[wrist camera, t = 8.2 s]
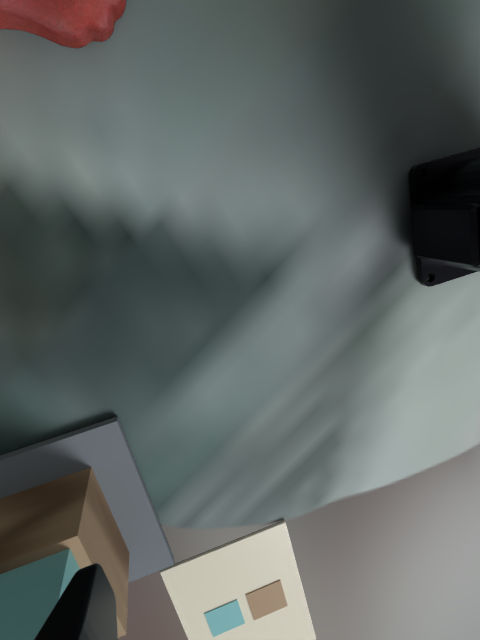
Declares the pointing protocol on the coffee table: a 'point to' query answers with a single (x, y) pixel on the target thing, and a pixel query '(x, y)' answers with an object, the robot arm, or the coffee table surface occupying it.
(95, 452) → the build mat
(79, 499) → the walnut brick
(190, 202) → the coffee table surface
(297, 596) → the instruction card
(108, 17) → the stacking bear
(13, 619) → the teal brick
